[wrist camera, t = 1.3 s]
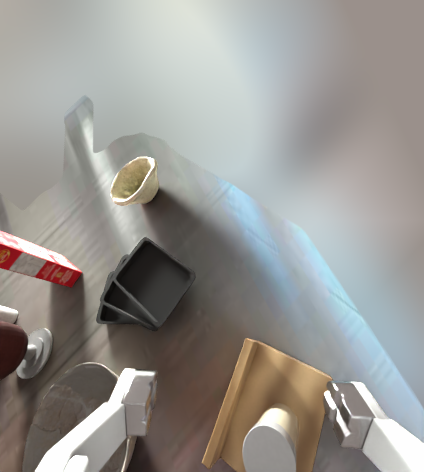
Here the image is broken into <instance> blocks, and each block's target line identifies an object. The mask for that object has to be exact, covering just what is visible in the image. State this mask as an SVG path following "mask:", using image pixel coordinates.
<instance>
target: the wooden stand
mask: <svg viewBox="0 0 424 472" xmlns="http://www.w3.org/2000/svg"><path fill="white" fill-rule="evenodd" d="M328 381H333V379H332V378H331V377H330V376H329V375H328V374H326V373H324V372H322V371H320V370H318V369H316V368H314V367H312V366H310V365H308V364H306V363H303V362H301V361H299V360H297V359H295V358H293V357H291V356H289V355H287V354H285V353H283V352H281V351H279V350H277V349H275V348H273V347H271V346H269V345H266V344H264V343H262V342H260V341H257V340H252V339H247V338H246V340H245V342H244V345H243V348H242V351H241V354H240V357H239V359H238V362H237V365H236V368H235V371H234V374H233V376H232V379H231V382H230V385H229V388H228V391H227V393H226V396H225V399H224V402H223V405H222V408H221V410H220V413H219V416H218V419H217V422H216V425H215V427H214V430H213V433H212V436H211V439H210V442H209V444H208V447H207V450H206V453H205V456H204V459H203V461H202V464H203V465H205V466H206V467H207V468H208V469H209V470H210V469H211V467H212V466H213V465H214V464H215V463H216V462H217V460H218V459H219V458H221V459H223V460H224V461H225V462H226V463H227V464H229V465H230V466H231V467H232V468H233V469H234V470H236V471H237V472H246V469H245V466H244V462H243V444H244V440H245V438H246V436H247V434H248V432H249V431H250V430H251V428H252V427H253V426H254V425H255V424H256V423H257V422H258V421H259V419H260V418H261V417H262V415H263V414H264V413H265V411H266V410H267V408H268V407H269V406H270V405H272V404H274V403H282V404H284V405H286V406H288V407H289V408H290V409H291V410H292V411H293V412H294V414H295V415H296V417H297V420H298V423H299V439H298V448H297V468H296V472H312V469H313V465H314V460H315V456H316V452H317V447H318V443H319V438H320V434H321V429H322V425H323V421H324V416H325V409H324V405H323V397H324V394H325V393H326V392H327V391H328V389H327V387H326V385H327V382H328Z"/></svg>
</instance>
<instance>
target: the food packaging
mask: <svg viewBox="0 0 424 472" xmlns="http://www.w3.org/2000/svg"><path fill="white" fill-rule="evenodd" d="M0 268H2V269H6V270H10V271H13V272H17V273H20V274H24V275H28V276H31V277H35V278H39V279H42V280H46V281H50V282H53V283H57V284H61V285H64V286H68V287H72V286H73V285H74V283H75V282H76V280H77V279H78V278H79V276H80V275H81V274H82V272H81V271H80V270H79V269H78V268H76V267H75V266H74V265H73V264H72V263H71V262H69V261H68V260H67V259H66V258H65V257H64V256H62V255H60V254H58V253H55V252H53V251H50V250H48V249H45V248H43V247H40V246H38V245H35V244H33V243H30V242H28V241H25V240H22V239H20V238H17V237H15V236H12V235H10V234H7V233H5V232H2V231H0Z"/></svg>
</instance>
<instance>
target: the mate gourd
mask: <svg viewBox="0 0 424 472" xmlns="http://www.w3.org/2000/svg"><path fill="white" fill-rule="evenodd" d="M52 344H53V339H52V334H51V332H50V331H49V330H47V329H38V330H35V331H34V332H32V333H31V334H30V335H29V336H27V334H26V333H25V332H24V330H23V329H22V328H21V327H20V326H18V325H15V324H12V323H8V322H3V321H0V380H2V379H3V378H5V377H6V376H8V375H9V374H11V373H12V372H14V371H15V370H17V374H18V375H19V377H21V378H23V379H28V378H32V377H34V376H35V375H37V374H38V373H39V372H40V371H41V370H42V369H43V367H44V366H45V364H46V362H47V361H48V359H49V356H50V353H51V350H52Z"/></svg>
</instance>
